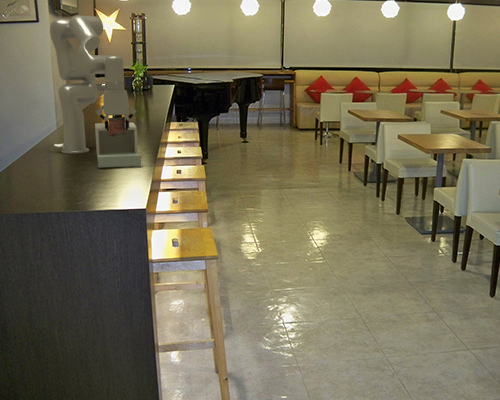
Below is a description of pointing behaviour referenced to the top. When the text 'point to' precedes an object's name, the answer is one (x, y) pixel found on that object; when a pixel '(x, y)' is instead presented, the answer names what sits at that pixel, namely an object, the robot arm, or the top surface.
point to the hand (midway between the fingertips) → (117, 129)
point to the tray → (119, 159)
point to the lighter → (116, 126)
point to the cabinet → (115, 140)
